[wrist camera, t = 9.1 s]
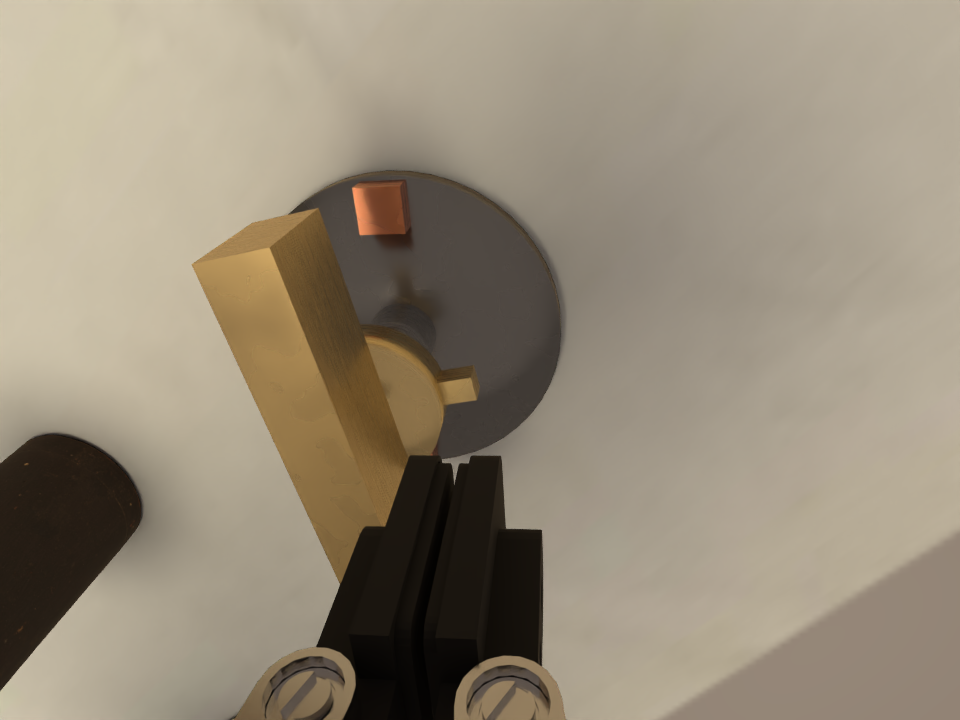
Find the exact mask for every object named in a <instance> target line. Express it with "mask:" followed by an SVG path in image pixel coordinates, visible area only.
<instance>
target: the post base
mask: <svg viewBox="0 0 960 720" xmlns="http://www.w3.org/2000/svg"><path fill="white" fill-rule="evenodd" d="M316 208H319V211H320V213H321V216H322V219H323V222H324V225H325V227H326V230H327V233H328V236H329V239H330V241H331V244H332V247H333V250H334V253H335V255H336V258H337V261H338V264H339V267H340V269H341V272H342V275H343V278H344V281H345V283H346V286H347V289H348V292H349V295H350V297H351V300H352V303H353V306H354V309H355V311H356V314H357V317H358V320H359V323H360V325H361V324H371V325H379V326H384V327H388V328H392V329H394V330H397V331H400V332H402V333H404V334H406V335H408V336H410V337H411V338H413V339H414V340H416V341H417V342H419V343H420V344H421V345H422V346H423V347H425V348H426V349H427V350H428V351H429V352H430V353H431V355H432V356H433V357H434V358H435V360H436V361H437V363H438V364H439V366H440V368H441V370H447V369H453V368H459V367H465V366H471V365H474V368H475V371H476V375H477V378H478V382H479V386H480V388H479V393H478V398H477V400H474V401H468V402H461V403H455V404H448V405H447V410H446V414H445V417H444V421H443V424H442V427H441V431H440V434H439V438H438V441H437V444H436V446H435V448H434V450H433V452H432V453H431V455H440V456H441V459H445V458H452V457H457V456H461V455H465V454H468V453H472V452H475V451H477V450H480V449H482V448H485V447H487V446H489V445H491V444H493V443H495V442H496V441H498V440H500V439H502V438H504V437H505V436H506V435H508V434H509V433H510V432H512V431H513V430H514V429H516V428H517V427H518V426H519V425H520V424H521V423H522V422H523V421H524V420H525V419H526V418H527V417H528V416H530V414H531V413H532V412H533V411H534V409H535V408H536V407H537V405H538V404H539V403H540V401H541V400H542V398H543V396H544V394H545V393H546V391H547V389H548V387H549V385H550V383H551V380H552V377H553V375H554V372H555V369H556V365H557V361H558V356H559V351H560V337H561V320H560V307H559V301H558V297H557V292H556V288H555V284H554V282H553V279H552V276H551V274H550V271H549V268H548V266H547V264H546V262H545V261H544V259H543V257H542V255H541V253H540V251H539V250H538V248H537V247H536V245H535V244H534V243H533V241H532V240H531V239H530V237H529V236H528V234H527V233H526V232H525V231H524V230H523V229H522V227H521V226H520V225H519V224H518V223H517V222H516V221H515V220H514V219H513V218H512V217H511V216H510V215H509V214H507V213H506V212H505V211H504V210H502V209H501V208H500V207H499V206H497V205H496V204H495V203H494V202H492V201H491V200H489V199H487V198H486V197H484V196H482V195H481V194H479V193H478V192H476V191H474V190H472V189H470V188H468V187H465V186H463V185H461V184H459V183H456V182H454V181H451V180H448V179H445V178H441V177H438V176H435V175H431V174H424V173H418V172H412V171H380V172H371V173H365V174H361V175H357V176H353V177H349V178H346V179H343V180H341V181H339V182H336V183H334V184H331V185H329V186H327V187H325V188H324V189H322V190H320V191H319V192H317V193H315V194H314V195H312V196H311V197H309V198H308V199H306V200H305V201H304V202H302V203H301V204H300V205H299V206H298V207H297V208H295V209H294V210H293V211H292V212H291V213H289V214H294V213H298V212H303V211H307V210H311V209H316ZM289 214H288V215H289Z"/></svg>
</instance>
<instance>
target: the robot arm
mask: <svg viewBox="0 0 960 720" xmlns="http://www.w3.org/2000/svg"><path fill="white" fill-rule="evenodd" d="M542 637H543V547H542V530H529V529H506V525H505V508H504V490H503V473H502V459H501V456H471V457H470V461H469V464H463V463H460V464H459V467H458V471H457V476H456V480H455V485H454V478H453V469H452V464H451V463H442V459H441V456H440V455H411V456H409V458H408V461H407V464H406V467H405V470H404V473H403V476H402V479H401V482H400V484H399V487H398V490H397V493H396V496H395V499H394V502H393V505H392V508H391V511H390V514H389V517H388V520H387V523H386V526H365V527H364V528H363V529H362V531H361V533H360V535H359V538H358V540H357V543H356V545H355V548H354V551H353V553H352V556H351V558H350V561H349V564H348V566H347V569H346V571H345V574H344V577H343V579H342V582H341V584H340V587H339V589H338V592H337V595H336V597H335V600H334V602H333V605H332V608H331V610H330V613H329V615H328V618H327V621H326V623H325V626H324V628H323V631H322V634H321V636H320V639H319V641H318V644H317V646H316V647H311V648H307V649H302V650H298V651H295V652H293V653H291V654H289V655H287V656H285V657H283V658H281V659H280V660H279V661H277V662H276V663H275V664H273V665H272V666H271V667H270V668H268V670H267V671H266V672H265V673H264V675H263V676H262V677H261V678H260V680H259V681H258V682H257V684H256V685H255V687H254V689H253V690H252V692H251V693H250V695H249V697H248V698H247V700H246V701H245V703H244V705H243V706H242V708H241V710H240V711H239V713H238V714H237V716H236V718H235V719H232V720H566V718H565V713H564V707H563V701H562V696H561V694H560V691H559V688H558V685H557V683H556V681H555V680H554V679H553V677H552V676H551V675H550V674H549V672H548V671H547V670H546V669H544V668H543V667H542Z"/></svg>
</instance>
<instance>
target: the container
mask: <svg viewBox="0 0 960 720" xmlns="http://www.w3.org/2000/svg"><path fill="white" fill-rule="evenodd" d="M140 517H141V505H140V501H139V497H138V495H137V493H136V490H135V488H134V486H133V484H132V483H131V481H130V480H129V478H128V477H127V475H126V474H125V473H124V472H123V471H122V470H121V468H120V467H119V466H118V465H117V464H116V463H114V462H113V461H112V460H111V459H110V458H109V457H108V456H106V455H105V454H103V453H102V452H100V451H99V450H97V449H95V448H94V447H92V446H90V445H88V444H86V443H83V442H81V441H78V440H74V439H70V438H67V437H64V436H58V435H45V436H40V437H36V438H34V439H30V440H29V441H27V442H26V443H25V444H24V445H22V446H21V447H20V448H19V449H17V450H16V451H15V452H14V453H13V454H11V455H10V456H9V457H8V458H6V459H5V460H4V461H3V462H2V463H0V691H1V689H2V688H3V687H4V686H5V685H6V683H7V682H8V681H9V680H10V679H11V677H12V676H13V675H14V674H15V673H16V671H17V670H18V669H19V668H20V667H21V665H22V664H23V663H24V662H25V661H26V660H27V658H28V657H29V656H30V655H31V654H32V652H33V651H34V650H35V649H36V648H37V646H38V645H39V644H40V643H41V642H42V640H43V639H44V638H45V637H46V636H47V635H48V633H49V632H50V631H51V630H52V629H53V628H54V626H55V625H56V624H57V623H58V622H59V621H60V619H61V618H62V617H63V616H64V615H65V614H66V612H67V611H68V610H69V609H70V608H71V607H72V605H73V604H74V603H75V602H76V601H77V600H78V598H79V597H80V596H81V595H82V594H83V592H84V591H85V590H86V589H87V588H88V587H89V585H90V584H91V583H92V582H93V581H94V580H95V578H96V577H97V576H98V575H99V574H100V573H101V572H102V570H103V569H104V568H105V567H106V566H107V564H108V563H109V562H110V561H111V560H112V559H113V557H114V556H115V555H116V554H117V553H118V552H119V550H120V549H121V548H122V547H123V545H124V544H125V543H126V542H127V540H128V539H129V538H130V537H131V535H132V534H133V533H134V532H135V530H136V529H137V527H138V525H139V522H140Z"/></svg>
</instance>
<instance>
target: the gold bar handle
mask: <svg viewBox="0 0 960 720" xmlns="http://www.w3.org/2000/svg"><path fill="white" fill-rule="evenodd" d="M192 266H193V268H194V271H195V273H196V275H197V277H198V279H199V281H200V283H201V286H202V288H203V290H204V292H205V294H206V296H207V299H208V301H209V303H210V305H211V307H212V309H213V311H214V314H215V316H216V318H217V320H218V322H219V324H220V327H221V329H222V331H223V333H224V335H225V337H226V339H227V342H228V344H229V346H230V348H231V350H232V352H233V355H234V357H235V359H236V361H237V363H238V365H239V367H240V370H241V372H242V374H243V376H244V378H245V380H246V383H247V385H248V387H249V389H250V391H251V393H252V396H253V398H254V400H255V402H256V404H257V406H258V408H259V411H260V413H261V415H262V417H263V419H264V421H265V424H266V426H267V428H268V430H269V432H270V434H271V436H272V439H273V441H274V443H275V445H276V447H277V449H278V452H279V454H280V456H281V458H282V460H283V462H284V464H285V467H286V469H287V471H288V473H289V475H290V477H291V480H292V482H293V484H294V486H295V488H296V490H297V492H298V495H299V497H300V499H301V501H302V503H303V505H304V508H305V510H306V512H307V514H308V516H309V518H310V520H311V523H312V525H313V527H314V529H315V531H316V533H317V536H318V538H319V540H320V542H321V544H322V546H323V548H324V551H325V553H326V555H327V557H328V559H329V561H330V564H331V566H332V568H333V570H334V572H335V574H336V577H337V579H338V581H339V583H340V584H341V582H342V579H343V577H344V574H345V571H346V569H347V566H348V564H349V561H350V558H351V556H352V553H353V551H354V548H355V545H356V543H357V540H358V538H359V535H360V533H361V531H362V529H363V528H364V527H365V526H386V523H387V520H388V517H389V514H390V511H391V508H392V505H393V502H394V499H395V496H396V493H397V490H398V487H399V484H400V482H401V479H402V476H403V473H404V470H405V467H406V464H407V461H408V458H409V456H411V455H431V453H432V452H433V450H434V448H435V446H436V444H437V441H438V438H439V434H440V431H441V427H442V424H443V421H444V417H445V414H446V410H447V405H448V404H455V403H461V402H468V401H474V400H477V398H478V393H479V388H480V386H479V382H478V378H477V375H476V371H475V368H474V365H471V366H465V367H459V368H453V369H447V370H441V368H440V366H439V364H438V363H437V361H436V360H435V358H434V357H433V356H432V355H431V353H430V352H429V351H428V350H427V349H426V348H425V347H423V346H422V345H421V344H420V343H419V342H417V341H416V340H414V339H413V338H411V337H410V336H408V335H406V334H404V333H402V332H400V331H397V330H394V329H392V328H388V327H384V326H379V325H371V324H361V325H360V323H359V320H358V317H357V314H356V311H355V309H354V306H353V303H352V300H351V297H350V295H349V292H348V289H347V286H346V283H345V281H344V278H343V275H342V272H341V269H340V267H339V264H338V261H337V258H336V255H335V253H334V250H333V247H332V244H331V241H330V239H329V236H328V233H327V230H326V227H325V225H324V222H323V219H322V216H321V213H320V211H319V208H316V209H311V210H307V211H303V212H298V213H294V214H289V215H285V216H281V217H276V218H272V219H267V220H263V221H258V222H254V223H251V224H250V225H248V226H247V227H246V228H244V229H243V230H241V231H240V232H238V233H237V234H235V235H234V236H232V237H231V238H229V239H228V240H227V241H225V242H224V243H222V244H221V245H219V246H218V247H216V248H215V249H213V250H212V251H210V252H209V253H208V254H206V255H205V256H203V257H202V258H200V259H199V260H197V261H196V262H194V263H193V264H192Z"/></svg>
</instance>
